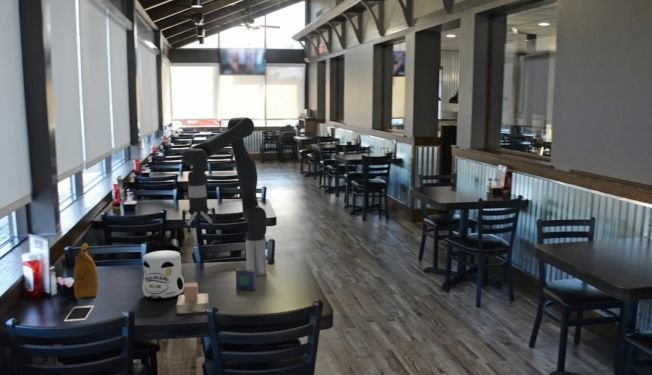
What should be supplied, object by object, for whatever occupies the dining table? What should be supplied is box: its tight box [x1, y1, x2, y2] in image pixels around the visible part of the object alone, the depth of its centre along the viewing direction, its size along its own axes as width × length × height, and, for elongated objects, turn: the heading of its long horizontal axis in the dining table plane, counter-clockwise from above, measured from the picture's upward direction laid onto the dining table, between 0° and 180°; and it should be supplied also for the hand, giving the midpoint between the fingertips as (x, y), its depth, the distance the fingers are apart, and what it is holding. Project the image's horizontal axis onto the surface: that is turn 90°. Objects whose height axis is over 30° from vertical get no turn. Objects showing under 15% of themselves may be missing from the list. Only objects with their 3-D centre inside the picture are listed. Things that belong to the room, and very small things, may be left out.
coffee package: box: [73, 242, 99, 300], centre depth 250 cm, size 10×12×22 cm
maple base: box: [176, 293, 210, 315], centre depth 235 cm, size 12×12×4 cm
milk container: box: [141, 250, 185, 300], centre depth 249 cm, size 17×17×18 cm
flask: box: [235, 265, 257, 292], centre depth 256 cm, size 9×3×11 cm, turn 74°
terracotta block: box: [183, 282, 199, 302], centre depth 235 cm, size 5×5×6 cm
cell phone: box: [63, 305, 95, 323], centre depth 230 cm, size 8×16×1 cm, turn 10°
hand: (200, 232), depth 250 cm, fingers open, 8 cm apart
